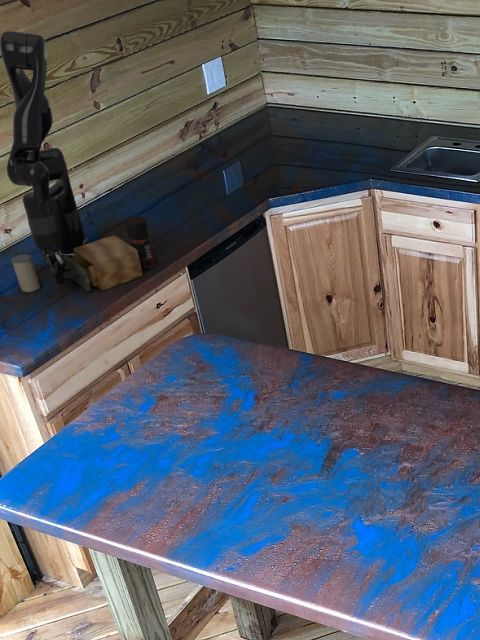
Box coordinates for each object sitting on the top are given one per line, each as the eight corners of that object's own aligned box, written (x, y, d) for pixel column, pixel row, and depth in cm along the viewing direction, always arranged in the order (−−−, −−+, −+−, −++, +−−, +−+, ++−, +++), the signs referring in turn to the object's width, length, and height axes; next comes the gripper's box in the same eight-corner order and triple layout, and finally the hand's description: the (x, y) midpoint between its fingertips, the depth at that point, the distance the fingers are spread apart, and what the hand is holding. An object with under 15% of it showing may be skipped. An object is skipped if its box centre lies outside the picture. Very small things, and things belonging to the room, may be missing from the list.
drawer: (74, 296, 271) (68, 275, 267) (54, 281, 279) (48, 260, 275) (126, 277, 280) (121, 257, 276) (106, 263, 288) (101, 243, 284)
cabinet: (101, 290, 275) (94, 264, 270) (80, 274, 284) (72, 248, 279) (143, 275, 283) (137, 249, 277) (121, 260, 291) (114, 234, 286)
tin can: (18, 288, 278) (8, 258, 271) (35, 282, 280) (26, 252, 274) (25, 294, 274) (15, 264, 268) (43, 288, 277) (33, 258, 271)
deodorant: (149, 269, 286) (139, 225, 277) (132, 268, 287) (121, 223, 278) (158, 261, 290) (148, 217, 281) (140, 260, 291) (130, 215, 282)
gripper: (67, 232, 259) (82, 286, 269) (47, 218, 267) (63, 271, 277) (41, 240, 255) (57, 295, 265) (22, 225, 263) (39, 279, 273)
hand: (60, 283), depth 271 cm, fingers closed
